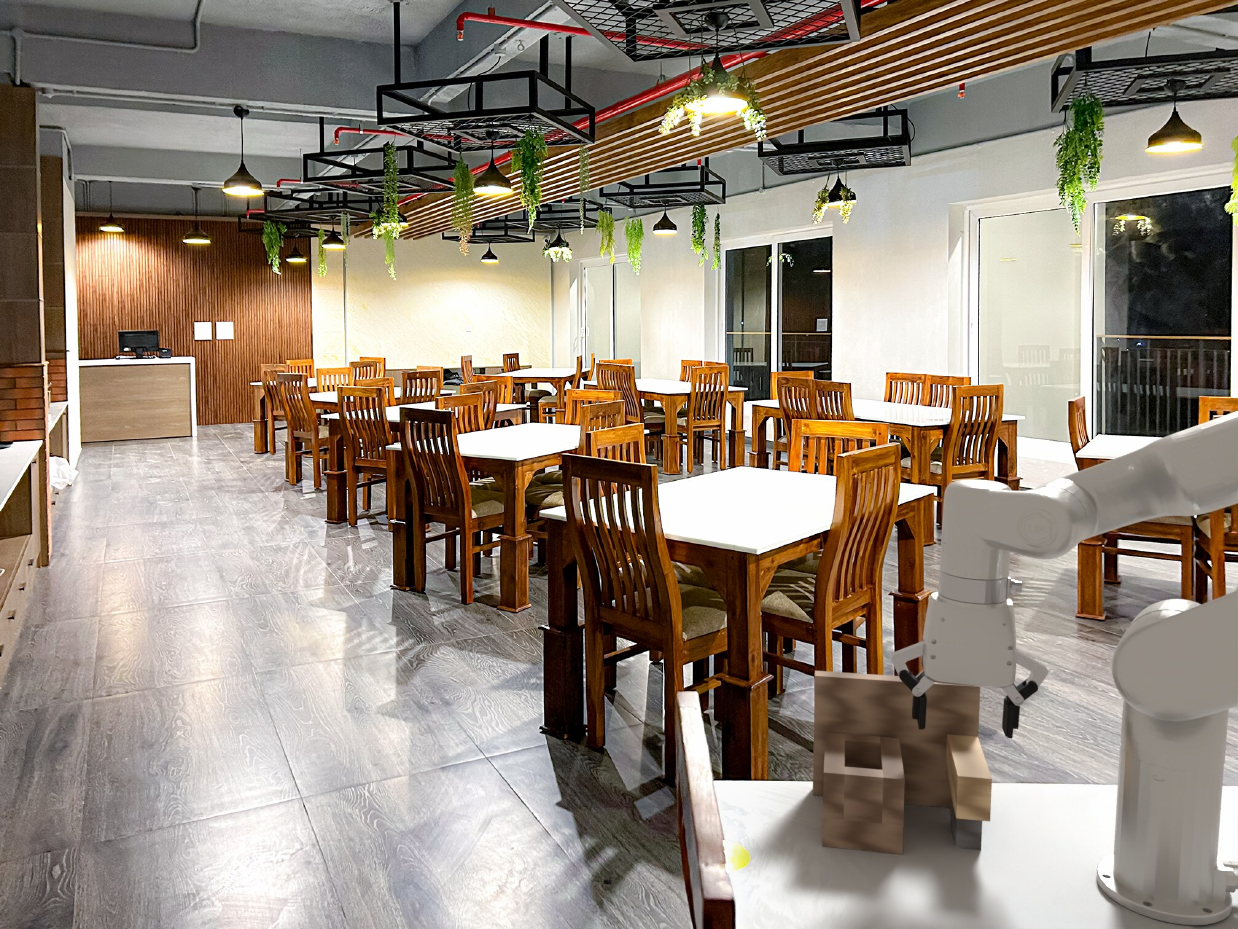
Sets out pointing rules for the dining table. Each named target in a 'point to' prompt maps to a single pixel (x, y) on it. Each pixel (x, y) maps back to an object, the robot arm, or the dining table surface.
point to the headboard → (882, 754)
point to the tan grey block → (968, 790)
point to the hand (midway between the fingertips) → (963, 729)
